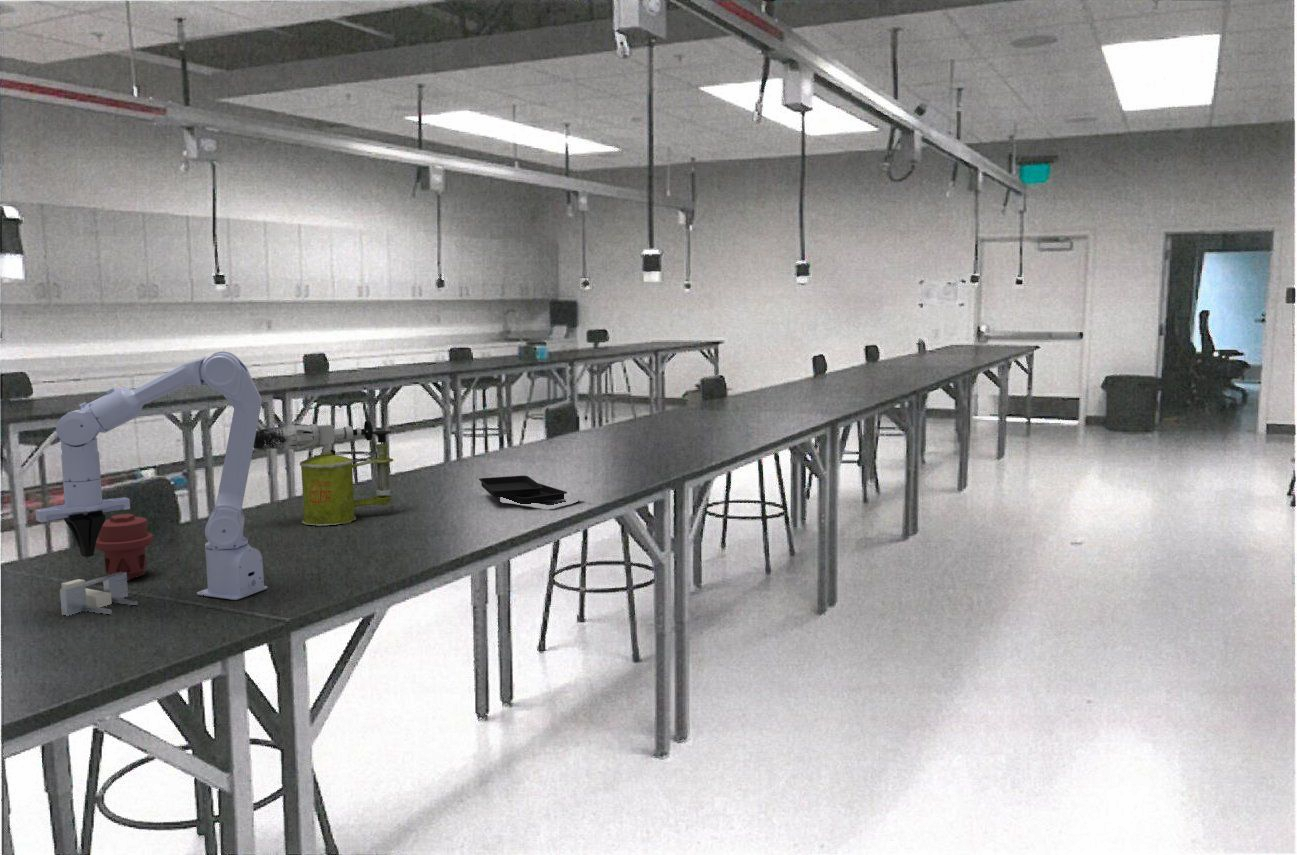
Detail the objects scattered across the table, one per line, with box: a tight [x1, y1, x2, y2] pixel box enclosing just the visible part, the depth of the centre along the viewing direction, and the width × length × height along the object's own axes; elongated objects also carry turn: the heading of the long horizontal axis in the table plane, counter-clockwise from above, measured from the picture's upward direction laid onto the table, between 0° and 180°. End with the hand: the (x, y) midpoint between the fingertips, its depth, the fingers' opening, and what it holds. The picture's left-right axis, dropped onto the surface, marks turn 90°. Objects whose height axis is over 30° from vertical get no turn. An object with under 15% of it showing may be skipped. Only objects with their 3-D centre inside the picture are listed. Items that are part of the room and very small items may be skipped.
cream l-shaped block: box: [60, 578, 113, 608], centre depth 175 cm, size 10×3×4 cm, turn 64°
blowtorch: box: [253, 420, 394, 526], centre depth 239 cm, size 13×33×25 cm, turn 122°
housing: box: [59, 572, 138, 617], centre depth 172 cm, size 7×12×5 cm, turn 158°
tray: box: [478, 475, 568, 505], centre depth 262 cm, size 30×23×5 cm
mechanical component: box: [95, 513, 154, 582], centre depth 190 cm, size 12×10×10 cm
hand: (87, 555), depth 173 cm, fingers closed
